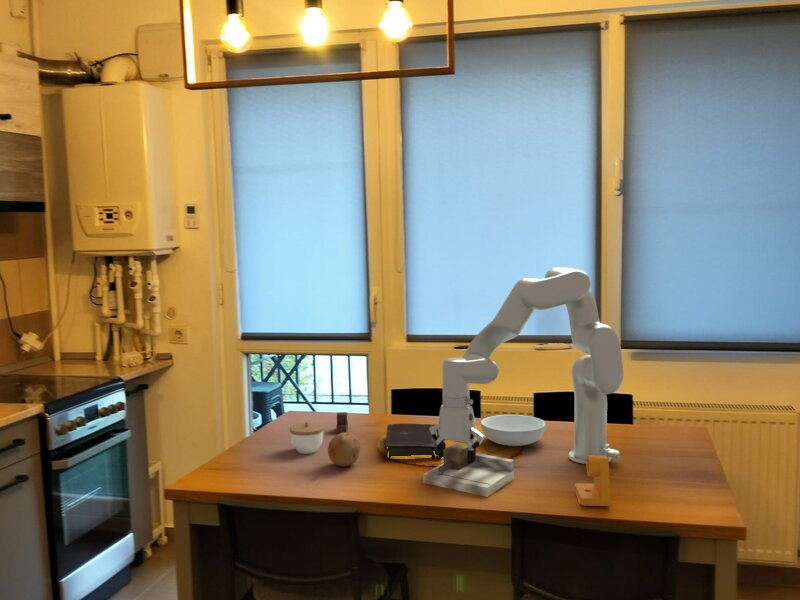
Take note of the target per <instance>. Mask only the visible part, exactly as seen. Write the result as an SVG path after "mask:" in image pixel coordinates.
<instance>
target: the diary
mask: <svg viewBox="0 0 800 600" xmlns="http://www.w3.org/2000/svg"><path fill="white" fill-rule="evenodd" d="M437 424H438V423H413V422H411V423H407V422H406V423H388V424H387V426H386V437H385V439H384V441H385V442H384V447H385V448H386V447H388V450H387V452H388V451H389V458H388V457H386V456H385V461H393V460H392V459H390V457H391V456H411V455H432V456H434V454H433V451H435V454H436V455H438V453H437V444H436V441H435V440H434V439H433V437H432V434H431V432H430V429H429V428H430V427H432V426H435V425H437ZM436 431H437V433H438V429H437V430H436ZM438 435H439V433H438Z"/></svg>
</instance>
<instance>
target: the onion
mask: <svg viewBox="0 0 800 600" xmlns="http://www.w3.org/2000/svg"><path fill="white" fill-rule="evenodd" d="M360 454H361V445H360V442H359V440H358V439H357V438H356V437H355V436H354V435H353V434H351V433H350V432H348V431H347V432H345V433H340V434H336V435H335V436H333V437H332V438H331V440H330V441H329V443H328V446H327V455H328V458H329V460H330V461H331V463H333V464H334V465H335V466H337V467H340V468H344V467H349V466H352V465H353V464H355V463H356V462H357V460H358V459H359V457H360Z"/></svg>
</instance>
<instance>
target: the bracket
mask: <svg viewBox="0 0 800 600" xmlns="http://www.w3.org/2000/svg"><path fill="white" fill-rule="evenodd" d="M585 465H586V473H587V477H589V478H591V477H592V478H594V479H593V482H592V483H588V482H587V483H583V482H582V483H580V482H578V483H575V484H574V492H575V497H576V496H577V498H578V500H579V502H580V504H581V505H580V506H583V507H586V506H588V507H594V506H595V507H611V503H612V502H611V500H612V497H611V496H612V495H611V483H610V481H611V480H610V462H608V458H607V456H606V455H588V456H587V461H586V464H585ZM577 498H576V499H577ZM578 500H577V501H578ZM579 502H578V503H579Z"/></svg>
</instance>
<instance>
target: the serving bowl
mask: <svg viewBox="0 0 800 600" xmlns="http://www.w3.org/2000/svg"><path fill="white" fill-rule="evenodd" d="M546 424H547V423H546V421H544V420H543V419H541V418H538V417H534V416H530V415H521V414H498V415H493V416H487V417H485V418H483V419H481V420H480V426H481V430H482V433H483V435H484V437H486V438H487V439H488V440H490V441H491V442H493V443H496V444H498V445H503V446H505V445H509V446H508V447H523V446H526V445H530V444H534V443H536V442H537V441H539V440H540V439H541V438H542V436H543V435H544V433H545V430H546Z"/></svg>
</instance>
